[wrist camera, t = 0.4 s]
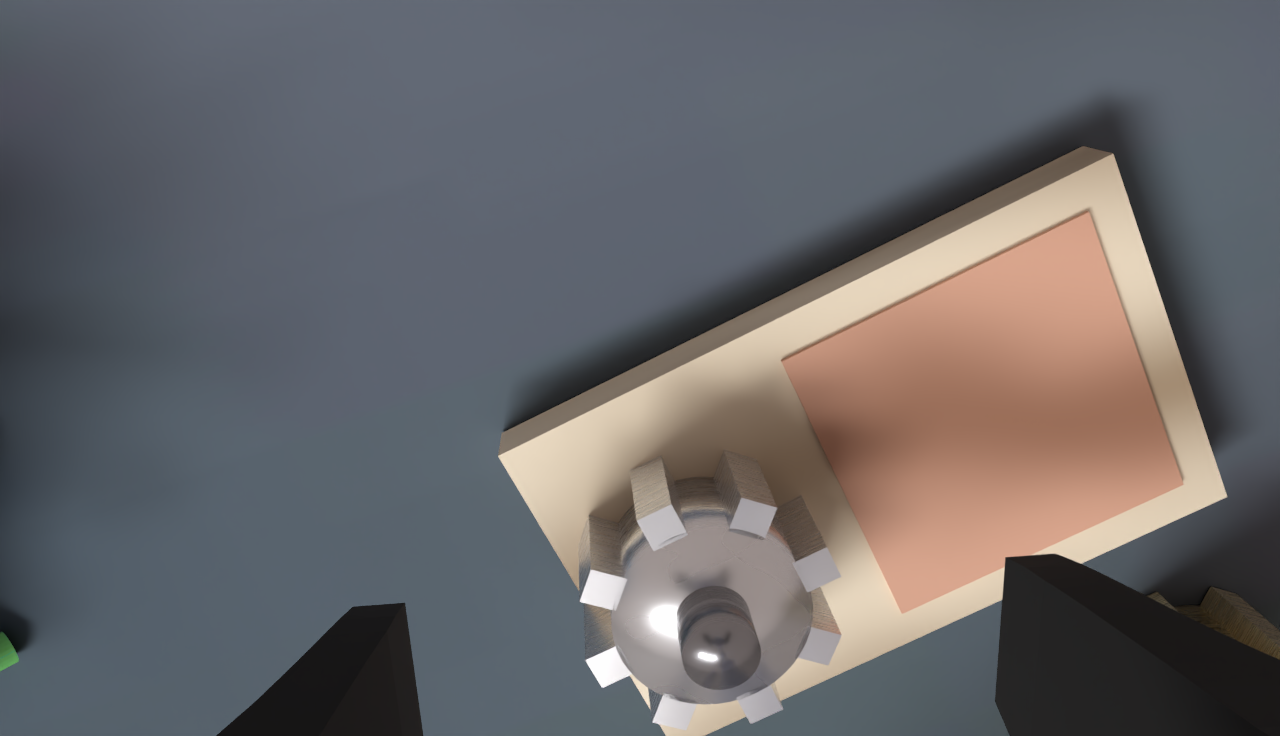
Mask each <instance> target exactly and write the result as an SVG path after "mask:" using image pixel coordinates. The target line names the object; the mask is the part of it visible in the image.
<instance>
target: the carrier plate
mask: <svg viewBox="0 0 1280 736" xmlns="http://www.w3.org/2000/svg"><path fill="white" fill-rule="evenodd" d="M724 450H727V451H731V452H734V453H738V454H741V455H745V456H748V457H752V458H755V459H757V461H758V464H759V466H760V468H761V471H762V473H763V475H764V478H765V480H766V482H767V485H768V487H769V489H770V492H771V494H772V496H773V499H774V501H775V503H776V506H779V505H781V504H784V503H786V502H788V501H790V500H792V499H794V498H796V497H798V496H800V495H802V497H803V499H804V501H805V504H806V506H807V508H808V510H809V512H810V514H811V516H812V518H813V520H814V522H815V524H816V526H817V528H818V530H819V532H820V534H821V536H822V538H823V540H824V542H825V544H826V546H827V548H828V550H829V552H830V554H831V556H832V558H833V560H834V562H835V564H836V566H837V568H838V571H839V573H840V575H841V577H840V578H838V579H835V580H833V581H831V582H829V583H827V584H825V585H823V586H820V587H821V589H822V592H823V594H824V596H825V598H826V601H827V603H828V605H829V607H830V610H831V612H832V614H833V616H834V619H835V621H836V623H837V625H838V628H839V630H840V632H841V634H842V636H841V638H840V641H839V643H838V645H837V647H836V649H835V652H834V654H833V656H832V658H831V661H830V663H829V665H824V664H820V663H816V662H813V661H809V660H805V659H801V658H797V659H796V661H795V662H794V664H793V665H792V666H791V667H790V668H789V669H788V670H787V671H786V673H784V674H783V675H782V676H781V677H780V678H779V679H778V680H776V681H775V685H776V688H777V691H778V694H779V697H780V701H781V700H783V699H786V698H788V697H790V696H792V695H794V694H796V693H799V692H801V691H803V690H805V689H807V688H810V687H812V686H814V685H816V684H818V683H821V682H823V681H825V680H827V679H829V678H832V677H834V676H836V675H838V674H840V673H842V672H845V671H847V670H849V669H851V668H853V667H856V666H858V665H860V664H862V663H864V662H867V661H869V660H871V659H873V658H875V657H878V656H880V655H882V654H884V653H886V652H888V651H891V650H893V649H895V648H897V647H899V646H902V645H904V644H906V643H908V642H910V641H913V640H915V639H917V638H919V637H921V636H924V635H926V634H928V633H930V632H932V631H935V630H937V629H939V628H941V627H943V626H945V625H948V624H950V623H952V622H954V621H956V620H959V619H961V618H963V617H965V616H967V615H970V614H972V613H974V612H976V611H978V610H981V609H983V608H985V607H987V606H989V605H991V604H994V603H996V602H998V601H1000V600H1002V598H1003V584H1004V570H1005V557H1015V556H1028V555H1041V554H1054V553H1055V554H1058V555H1060V556H1063V557H1066V558H1068V559H1071V560H1073V561H1075V562H1078V563H1080V564H1081V563H1083V562H1086V561H1088V560H1090V559H1092V558H1094V557H1097V556H1099V555H1101V554H1103V553H1105V552H1108V551H1110V550H1112V549H1114V548H1116V547H1119V546H1121V545H1123V544H1125V543H1127V542H1129V541H1132V540H1134V539H1136V538H1138V537H1140V536H1143V535H1145V534H1147V533H1149V532H1151V531H1154V530H1156V529H1158V528H1160V527H1162V526H1165V525H1167V524H1169V523H1171V522H1173V521H1175V520H1178V519H1180V518H1182V517H1184V516H1186V515H1189V514H1191V513H1193V512H1195V511H1197V510H1200V509H1202V508H1204V507H1206V506H1208V505H1211V504H1213V503H1215V502H1217V501H1219V500H1221V499H1224V498H1226V497H1227V494H1226V491H1225V488H1224V485H1223V482H1222V479H1221V476H1220V473H1219V470H1218V467H1217V464H1216V461H1215V458H1214V455H1213V452H1212V449H1211V446H1210V443H1209V440H1208V437H1207V434H1206V431H1205V428H1204V425H1203V422H1202V419H1201V416H1200V413H1199V410H1198V407H1197V404H1196V401H1195V398H1194V395H1193V392H1192V389H1191V386H1190V383H1189V380H1188V377H1187V374H1186V371H1185V368H1184V365H1183V362H1182V359H1181V356H1180V353H1179V350H1178V347H1177V344H1176V341H1175V338H1174V335H1173V332H1172V329H1171V326H1170V323H1169V320H1168V317H1167V314H1166V311H1165V308H1164V305H1163V302H1162V299H1161V296H1160V293H1159V290H1158V287H1157V284H1156V281H1155V277H1154V274H1153V271H1152V268H1151V265H1150V262H1149V259H1148V256H1147V253H1146V250H1145V247H1144V244H1143V241H1142V238H1141V235H1140V232H1139V229H1138V226H1137V223H1136V220H1135V217H1134V214H1133V211H1132V208H1131V205H1130V202H1129V199H1128V196H1127V193H1126V190H1125V187H1124V184H1123V181H1122V178H1121V175H1120V172H1119V169H1118V166H1117V163H1116V160H1115V157H1114V154H1113V153H1109V152H1105V151H1101V150H1097V149H1093V148H1089V147H1085V146H1082V147H1080V148H1078V149H1076V150H1074V151H1072V152H1070V153H1068V154H1066V155H1064V156H1062V157H1060V158H1058V159H1056V160H1054V161H1052V162H1050V163H1048V164H1045V165H1043V166H1041V167H1039V168H1037V169H1035V170H1033V171H1031V172H1029V173H1027V174H1025V175H1023V176H1021V177H1019V178H1017V179H1015V180H1013V181H1011V182H1009V183H1007V184H1005V185H1003V186H1001V187H999V188H997V189H995V190H993V191H991V192H989V193H987V194H985V195H983V196H981V197H979V198H977V199H975V200H973V201H971V202H969V203H967V204H964V205H962V206H960V207H958V208H956V209H954V210H952V211H950V212H948V213H946V214H944V215H942V216H940V217H938V218H936V219H934V220H932V221H930V222H928V223H926V224H924V225H922V226H920V227H918V228H916V229H914V230H912V231H910V232H908V233H906V234H904V235H902V236H900V237H898V238H896V239H894V240H892V241H890V242H888V243H886V244H884V245H881V246H879V247H877V248H875V249H873V250H871V251H869V252H867V253H865V254H863V255H861V256H859V257H857V258H855V259H853V260H851V261H849V262H847V263H845V264H843V265H841V266H839V267H837V268H835V269H833V270H831V271H829V272H827V273H825V274H823V275H821V276H819V277H817V278H815V279H813V280H811V281H809V282H807V283H805V284H803V285H800V286H798V287H796V288H794V289H792V290H790V291H788V292H786V293H784V294H782V295H780V296H778V297H776V298H774V299H772V300H770V301H768V302H766V303H764V304H762V305H760V306H758V307H756V308H754V309H752V310H750V311H748V312H746V313H744V314H742V315H740V316H738V317H736V318H734V319H732V320H730V321H728V322H726V323H724V324H722V325H720V326H717V327H715V328H713V329H711V330H709V331H707V332H705V333H703V334H701V335H699V336H697V337H695V338H693V339H691V340H689V341H687V342H685V343H683V344H681V345H679V346H677V347H675V348H673V349H671V350H669V351H667V352H665V353H663V354H661V355H659V356H657V357H655V358H653V359H651V360H649V361H647V362H645V363H643V364H641V365H639V366H637V367H634V368H632V369H630V370H628V371H626V372H624V373H622V374H620V375H618V376H616V377H614V378H612V379H610V380H608V381H606V382H604V383H602V384H600V385H598V386H596V387H594V388H592V389H590V390H588V391H586V392H584V393H582V394H580V395H578V396H576V397H574V398H572V399H570V400H568V401H566V402H564V403H562V404H560V405H558V406H556V407H553V408H551V409H549V410H547V411H545V412H543V413H541V414H539V415H537V416H535V417H533V418H531V419H529V420H527V421H525V422H523V423H521V424H519V425H517V426H515V427H513V428H511V429H509V430H507V431H505V432H503V433H502V435H501V441H500V448H499V454H498V457H499V458H500V460H501V462H502V463H503V465H504V467H505V468H506V470H507V472H508V473H509V475H510V477H511V478H512V480H513V482H514V483H515V485H516V487H517V488H518V490H519V492H520V493H521V495H522V497H523V498H524V500H525V502H526V503H527V505H528V507H529V508H530V510H531V512H532V513H533V515H534V517H535V518H536V520H537V522H538V523H539V525H540V527H541V528H542V530H543V532H544V533H545V535H546V537H547V538H548V540H549V542H550V543H551V545H552V547H553V548H554V550H555V552H556V553H557V555H558V557H559V558H560V560H561V562H562V563H563V565H564V567H565V568H566V570H567V572H568V573H569V575H570V577H571V578H572V580H573V582H574V583H575V585H576V587H577V588H578V590H579V555H578V544H579V541H580V538H581V535H582V532H583V529H584V527H585V524H586V521H587V518H588V515H592V516H595V517H599V518H603V519H606V520H610V521H614V522H617V523H619V521H620V520H621V518H622V517H623V515H624V514H625V513H626V512H627V510H628V509H629V508H630V507H631V506H632V505H633V504H634V499H633V492H632V485H631V477H630V470H631V469H633V468H635V467H638V466H640V465H642V464H644V463H646V462H648V461H650V460H652V459H654V458H656V457H658V456H660V455H661V456H662V458H663V460H664V462H665V464H666V466H667V467H668V469H669V471H670V473H671V475H672V477H673V479H674V480H675V481H676V480H680V479H685V478H691V477H714V474H715V471H716V469H717V466H718V464H719V461H720V458H721V456H722V453H723V451H724ZM630 676H631V678H632V680H633V681H634V683H635V685H636V686H637V688H638V690H639V691H640V693H641V695H642V696H643V698H644V700H645V701H646V703H647V705H648V706H649V708H650V700H649V692H648V687H646V686H645V685H644V684H642V683H641V682H640V681H639V680H637V679H636V678H635V677H634V675H633V674H631V675H630ZM650 710H651V708H650ZM744 717H746V715H745V713H744V711H743V709H742V708H741V706H740V704H739V702H738V701H737V700H735V701H732V702H726V703H720V704H697V705H696V708H695V710H694V713H693V715H692V718H691V720H690V722H689V725H688V727H687V730H682V729H678V728H673V727H669V726H665V725H661V724H659V725H660V726H661V728H662V730H663V731H664V733H665V735H666V736H704V735H707V734H709V733H711V732H713V731H715V730H718V729H720V728H722V727H724V726H726V725H729V724H731V723H733V722H735V721H737V720H740V719H742V718H744Z"/></svg>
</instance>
